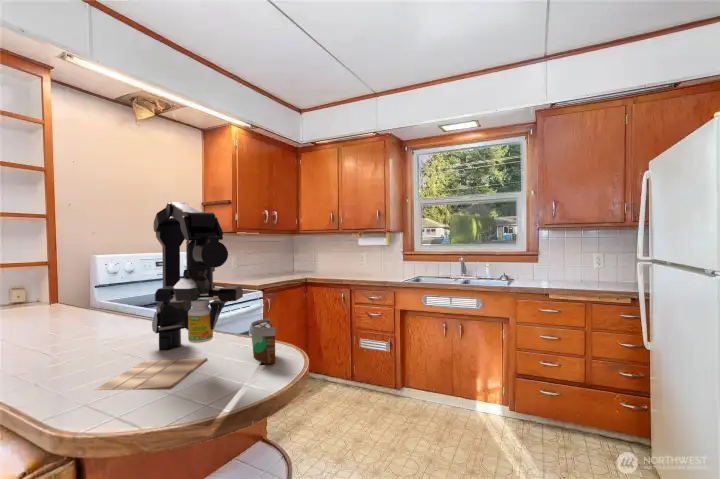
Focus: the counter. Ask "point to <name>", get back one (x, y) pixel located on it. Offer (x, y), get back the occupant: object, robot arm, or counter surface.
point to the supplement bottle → (199, 321)
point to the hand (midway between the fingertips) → (200, 329)
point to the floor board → (135, 375)
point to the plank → (171, 374)
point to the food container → (263, 341)
